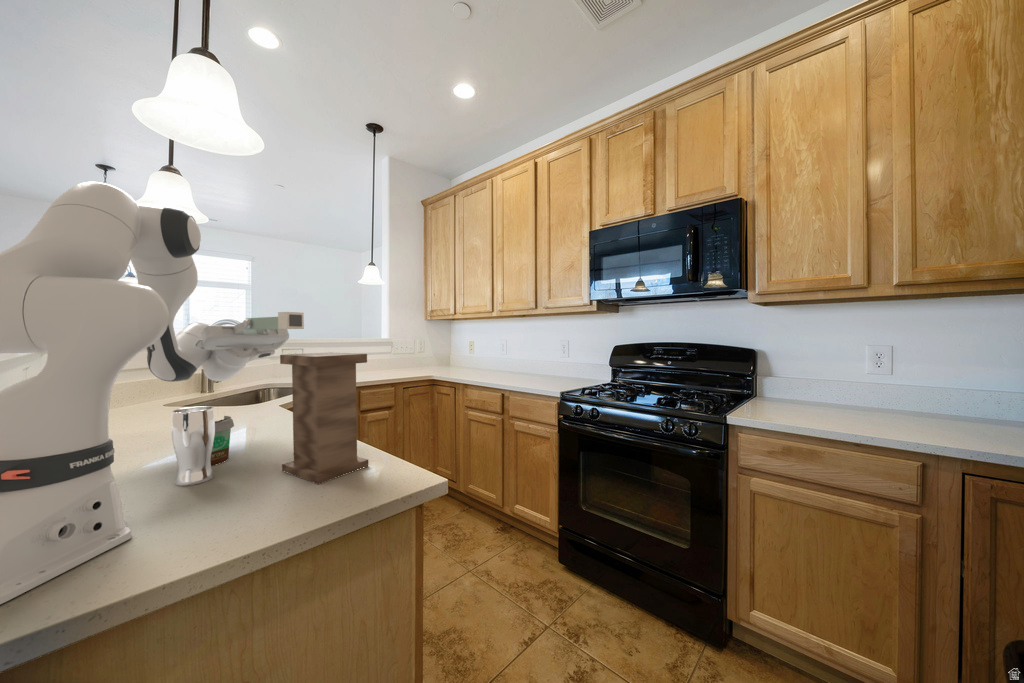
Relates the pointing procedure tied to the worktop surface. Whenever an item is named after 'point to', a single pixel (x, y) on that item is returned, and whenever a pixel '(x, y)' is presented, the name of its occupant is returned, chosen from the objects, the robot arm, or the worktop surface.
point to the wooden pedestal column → (324, 415)
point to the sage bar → (279, 321)
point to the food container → (221, 440)
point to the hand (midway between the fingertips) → (258, 322)
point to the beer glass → (193, 443)
